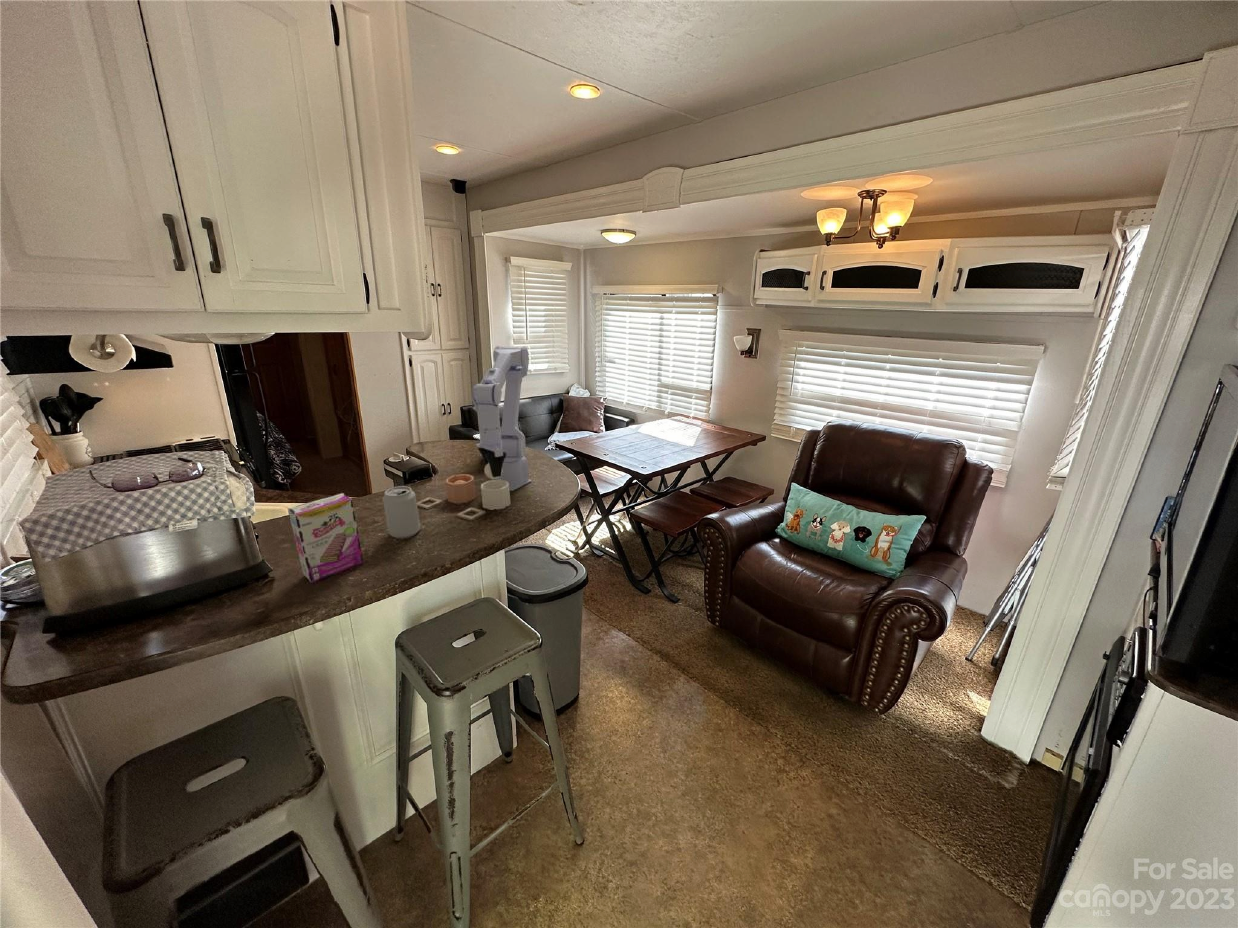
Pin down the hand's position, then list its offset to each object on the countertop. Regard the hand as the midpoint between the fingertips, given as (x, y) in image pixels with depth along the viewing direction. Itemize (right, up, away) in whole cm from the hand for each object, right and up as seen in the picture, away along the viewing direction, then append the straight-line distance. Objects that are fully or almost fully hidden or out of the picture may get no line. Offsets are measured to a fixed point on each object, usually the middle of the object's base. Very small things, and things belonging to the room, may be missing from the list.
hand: (493, 473), depth 136 cm
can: (-19, -15, -13) cm, 28 cm away
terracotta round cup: (-11, -7, +7) cm, 15 cm away
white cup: (0, -9, +3) cm, 10 cm away
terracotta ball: (-12, -5, +6) cm, 14 cm away
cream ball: (0, +1, 0) cm, 1 cm away
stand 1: (-20, -9, +3) cm, 22 cm away
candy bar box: (-28, -21, -29) cm, 46 cm away
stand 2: (-5, -11, -4) cm, 13 cm away
